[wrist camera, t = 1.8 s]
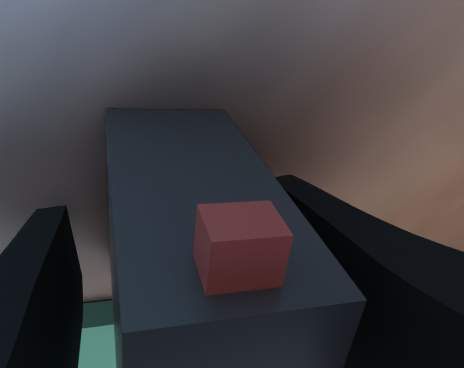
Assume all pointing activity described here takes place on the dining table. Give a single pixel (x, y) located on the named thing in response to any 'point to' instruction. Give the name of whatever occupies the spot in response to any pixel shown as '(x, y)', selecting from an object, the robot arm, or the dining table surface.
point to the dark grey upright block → (215, 253)
